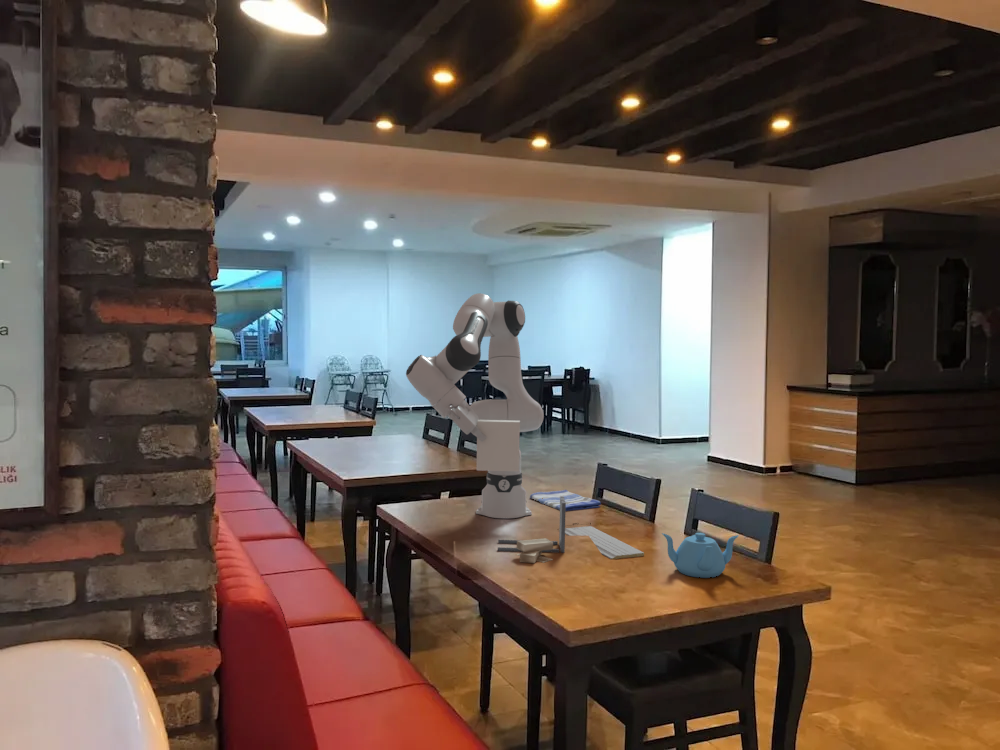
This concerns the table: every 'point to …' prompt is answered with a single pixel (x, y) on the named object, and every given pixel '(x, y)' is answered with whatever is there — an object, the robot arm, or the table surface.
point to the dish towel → (571, 500)
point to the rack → (561, 541)
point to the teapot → (700, 555)
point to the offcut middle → (530, 556)
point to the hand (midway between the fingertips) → (484, 438)
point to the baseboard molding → (605, 542)
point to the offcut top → (534, 545)
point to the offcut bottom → (540, 558)
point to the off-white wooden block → (498, 445)
